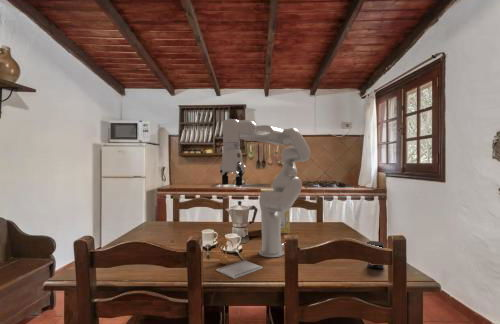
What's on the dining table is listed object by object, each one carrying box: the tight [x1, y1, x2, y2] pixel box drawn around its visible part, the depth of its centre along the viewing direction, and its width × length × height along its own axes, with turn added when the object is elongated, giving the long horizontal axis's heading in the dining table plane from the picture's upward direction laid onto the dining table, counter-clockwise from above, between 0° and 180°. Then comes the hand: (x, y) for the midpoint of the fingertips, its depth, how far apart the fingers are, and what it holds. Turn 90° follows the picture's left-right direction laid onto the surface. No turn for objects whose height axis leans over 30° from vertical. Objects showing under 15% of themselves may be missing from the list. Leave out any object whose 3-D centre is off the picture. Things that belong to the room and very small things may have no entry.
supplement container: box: [366, 240, 385, 270], centre depth 122 cm, size 7×7×10 cm
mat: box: [216, 260, 264, 280], centre depth 122 cm, size 16×12×1 cm
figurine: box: [215, 236, 234, 265], centre depth 130 cm, size 8×6×12 cm
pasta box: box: [260, 188, 291, 234], centre depth 188 cm, size 18×10×28 cm, turn 88°
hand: (231, 185), depth 127 cm, fingers open, 9 cm apart
